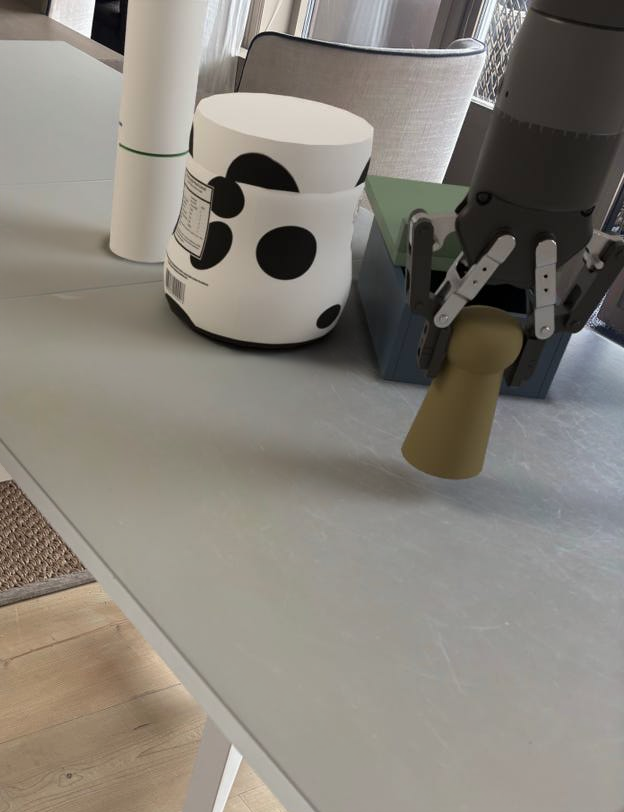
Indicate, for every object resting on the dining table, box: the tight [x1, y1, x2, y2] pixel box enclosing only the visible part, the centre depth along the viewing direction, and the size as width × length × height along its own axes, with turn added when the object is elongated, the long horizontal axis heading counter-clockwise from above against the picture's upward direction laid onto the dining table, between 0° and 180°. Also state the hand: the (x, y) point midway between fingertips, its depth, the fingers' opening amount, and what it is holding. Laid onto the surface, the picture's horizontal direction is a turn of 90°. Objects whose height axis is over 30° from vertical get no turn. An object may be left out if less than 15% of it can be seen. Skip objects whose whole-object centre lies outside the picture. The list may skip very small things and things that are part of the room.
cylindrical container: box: [109, 0, 209, 264], centre depth 95 cm, size 7×7×25 cm
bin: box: [356, 214, 573, 400], centre depth 92 cm, size 15×22×8 cm
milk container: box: [163, 92, 375, 350], centre depth 87 cm, size 17×17×18 cm
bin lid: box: [364, 174, 566, 286], centre depth 95 cm, size 15×22×4 cm
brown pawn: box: [400, 305, 524, 481], centre depth 68 cm, size 6×6×11 cm
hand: (469, 376), depth 67 cm, fingers closed on brown pawn, 5 cm apart
